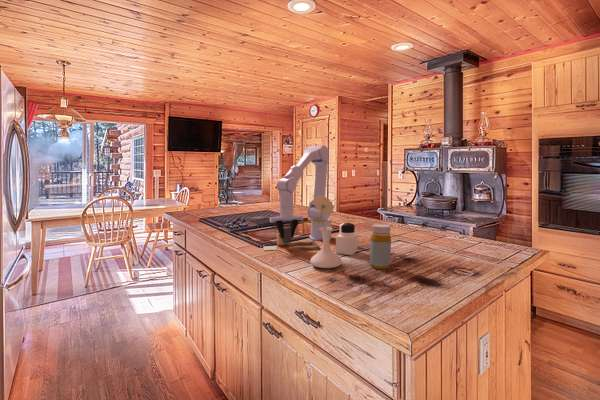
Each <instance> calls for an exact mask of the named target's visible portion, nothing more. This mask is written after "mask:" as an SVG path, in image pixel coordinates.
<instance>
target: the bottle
mask: <svg viewBox="0 0 600 400" xmlns="http://www.w3.org/2000/svg"><path fill="white" fill-rule="evenodd" d="M371 230H372V231H371V236H370V242H369V243H370V245H369V246H370V248H369V250H370V254H369V255H370V256H369V265H370V267H371V268H373V269H376V270H380V271H381V270H388V269H389V268H390V267H391V255H392V254H391V253H392V252H391V250H392V248H391V247H392V237H391V225H390V224H387V223H372V225H371Z"/></svg>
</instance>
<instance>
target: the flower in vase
mask: <svg viewBox="0 0 600 400" xmlns="http://www.w3.org/2000/svg"><path fill="white" fill-rule="evenodd" d="M313 199H314V198H313ZM314 200H315V201H314V202H315V203H314V205H315V206H316V208H317V209H318V210H319V211H320V212H321V214H322V212H323V213H324V214H328V213H329V214H330V215H331V214H333V213H334V211H335V210H334V209H335V205H334V204H333V201H331V200H330V199H329V198H327V197H326V196H325V197H324V198H323V197H322V196H318V197H317V198H316V199H314ZM321 214H320V219H319V218H318V217H315V218H314V220H313V221H315V222H318V223H320V222H322V220H321ZM329 220H330V221H327V222H326V223H325V224H327V223H329V222H331V223H332V220H333V219H329ZM322 224H323V222H322ZM323 226H324V224H323ZM319 229H320V230H321V232H322V236H323V240H322V248H321V249H320V250H319V251H317V253H315V254H314V255H313V256H312V257H311V258H310V259H309V263H310V264H311V265H312V266H314V267H316V268H320V269H333V268H337V267H340V266H341V265H342V263H343V260H342V258H341V257H340V256H339V254H338V255H337V253H336V252H334V251H333V250H332V249H331V246H330V240H331V239H330V234H331V235H332V232H333V230H334V228H333V227H332V226H331V227H325V226H324V227H320V228H319Z"/></svg>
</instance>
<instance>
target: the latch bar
mask: <svg viewBox="0 0 600 400" xmlns="http://www.w3.org/2000/svg"><path fill="white" fill-rule="evenodd" d="M285 245H288V243H283V242H282V239H281V238H280V234H279V232H278V233H276V246H282V247H283V246H285Z"/></svg>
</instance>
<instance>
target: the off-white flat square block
mask: <svg viewBox="0 0 600 400" xmlns="http://www.w3.org/2000/svg"><path fill="white" fill-rule="evenodd" d="M262 248H263V251H264V252H268V251H278V247H277V245H268V246H267V245H266V246H263V247H262Z"/></svg>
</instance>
